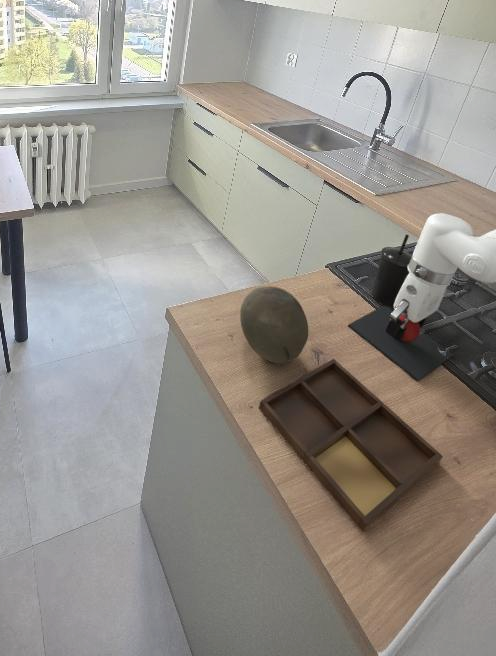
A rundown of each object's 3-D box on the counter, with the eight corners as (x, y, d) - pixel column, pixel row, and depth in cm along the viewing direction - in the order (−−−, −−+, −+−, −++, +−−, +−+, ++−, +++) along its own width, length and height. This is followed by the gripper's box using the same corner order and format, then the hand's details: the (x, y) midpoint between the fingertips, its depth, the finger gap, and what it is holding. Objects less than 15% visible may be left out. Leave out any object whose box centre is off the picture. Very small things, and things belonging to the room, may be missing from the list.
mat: (453, 356, 93) (454, 354, 93) (417, 381, 87) (418, 379, 87) (382, 307, 106) (383, 305, 106) (347, 326, 100) (348, 324, 100)
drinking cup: (394, 314, 104) (421, 249, 96) (361, 296, 109) (384, 234, 101) (403, 299, 109) (429, 236, 101) (371, 283, 114) (394, 222, 106)
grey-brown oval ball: (305, 342, 95) (321, 291, 89) (292, 389, 84) (309, 336, 78) (244, 314, 102) (255, 265, 96) (225, 355, 91) (235, 303, 85)
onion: (391, 324, 100) (402, 299, 97) (418, 341, 96) (430, 315, 93) (380, 336, 97) (391, 310, 94) (408, 354, 93) (420, 327, 90)
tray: (438, 463, 73) (443, 456, 72) (362, 531, 64) (366, 524, 63) (331, 365, 90) (333, 358, 89) (258, 407, 81) (260, 400, 80)
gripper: (426, 293, 81) (397, 357, 89) (471, 268, 89) (441, 329, 96) (388, 270, 87) (364, 331, 95) (433, 248, 95) (408, 306, 102)
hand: (403, 329), depth 95 cm, fingers open, 7 cm apart
